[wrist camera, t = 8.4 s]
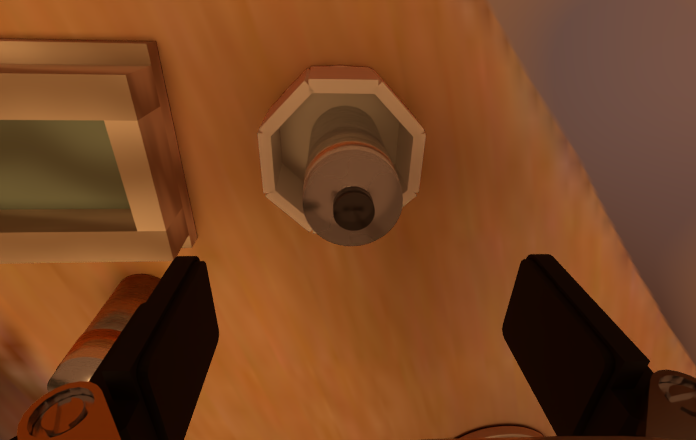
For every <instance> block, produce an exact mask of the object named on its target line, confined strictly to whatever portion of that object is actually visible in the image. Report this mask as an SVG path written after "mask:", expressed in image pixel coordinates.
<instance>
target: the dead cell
mask: <svg viewBox="0 0 696 440" xmlns="http://www.w3.org/2000/svg"><path fill="white" fill-rule="evenodd" d="M302 196H303V211H304V215H305V218H306V220H307V222H308V224H309V225H310V227H311V228H312V229H313V230H314V231H315V232H316V233H317V234H318V235H319V236H320V237H322V238H323V239H325V240H327V241H329V242H332V243H334V244H338V245H343V246H359V245H365V244H368V243H371V242H373V241H376V240H378V239H379V238H381V237H382V236H384V235H385V234H386V233H388V232H389V231H390V230H391V229H392V227H393V226H394V225H395V223H396V222H397V220H398V218H399V216H400V214H401V211H402V206H403V195H402V190H401V186H400V182H399V178H398V176H397V173H396V171H395V168H394V166H393V163H392V161H391V159H390V156H389V154H388V153H387V151H386V149H385V146H384V144H383V141H382V139H381V136H380V134H379V131H378V129H377V127H376V124H375V122H374V121H373V119H372V118H371V117H370V116H369V115H368V114H367V113H366V112H364V111H363V110H361V109H359V108H356V107H353V106H337V107H334V108H331V109H329V110H327V111H325V112H324V113H323V114H322V115H320V116H319V118H318V119H317V120H316V122H315V123H314V125H313V127H312V130H311V135H310V143H309V151H308V160H307V164H306V168H305V175H304V183H303V193H302Z"/></svg>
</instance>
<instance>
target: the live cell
mask: <svg viewBox="0 0 696 440" xmlns="http://www.w3.org/2000/svg"><path fill="white" fill-rule="evenodd" d="M160 280H161V279H159V278H157V277H154V276H151V275H146V274H135V275H131V276H128V277H126V278H125V279H123V280H122V281H121V282H120V284H119V285H118V287H117V288H116V289H115V291H114V292H113V293H112V295H111V296H110V297H109V299H108V300H107V302H106V303H105V304H104V306H103V307H102V308H101V310H100V311H99V313H98V314H97V315H96V317H95V318H94V319H93V321H92V322H91V324H90V325H89V326H88V328H87V329H86V330H85V332H84V333H83V334H82V335H81V336H80V337H79V339H78V340H77V341H76V343H75V344H74V345H73V347H72V348H71V349H70V351H69V352H68V353H67V355H66V356H65V358H64V359H63V360H62V362H61V363H60V364H59V366H58V367H57V369H56V372H55V373H54V374H53V376H52V377H51V378H50V380H49V382H48V385H47V389H48V392H50V391H52V390H54V389H55V388H58V387H60V386H63V385H66V384H68V383H73V382H79V381H84V382H88V381H89V380H90V378H91V377H92V375H93V374H94V372H95V371H96V369H97V368H98V366H99V365H100V363H101V362H102V360H103V359H104V357H105V356H106V354H107V353H108V351H109V350H110V348H111V347H112V345H113V344H114V342H115V341H116V339H117V338H118V336H119V335H120V333H121V332H122V330H123V329H124V327H125V326H126V324H127V323H128V321H129V320H130V318H131V317H132V315H133V314H134V312H135V311H136V309H137V308H138V307H139V306H140V304H142V303H144V302H146V301H147V300H148V298H149V297H150V295H151V294H152V292H153V290H154V289H155V287H156V286H157V284H158V283H159V281H160Z"/></svg>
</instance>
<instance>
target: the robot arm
mask: <svg viewBox="0 0 696 440" xmlns="http://www.w3.org/2000/svg"><path fill="white" fill-rule="evenodd" d="M502 332H503V336H504V339H505V341H506V343H507V344H508V346H509V348H510V350H511V352H512V354H513V355H514V357H515V359H516V361H517V363H518V365H519V367H520V368H521V370H522V372H523V374H524V376H525V378H526V380H527V381H528V383H529V385H530V387H531V389H532V391H533V393H534V394H535V396H536V398H537V400H538V402H539V404H540V405H541V407H542V409H543V411H544V413H545V415H546V417H547V418H548V420H549V422H550V424H551V426H552V428H553V430H554V431H555V433H556V435H557V436H552V437H544V436H543V435H542V434H541V433H539V432H536V431H534V430H532V429H528V428H525V427H518V426H498V427H490V428H486V429H481V430H477V431H475V432H472V433H469V434H466V435H464V436H462V437H460V438H458V439H423V440H696V378H694V377H692V376H690V375H687V374H684V373H681V372H678V371H672V370H659V371H657V372H655V373H653V372H652V371H651V369H650V368H649V367H648V364H649V362H650V361H649V359H648V358H647V357H646V356H645V355H644V354H643V353H642V352H641V351H640V350H639V349H638V348H637V347H636V345H635V344H634V343H633V342H632V341H631V340H630V339H629V338H628V337H627V336H626V335H625V334H624V333H623V331H622V330H621V329H620V328H619V327H618V326H617V325H616V324H615V323H614V322H613V321H612V320H611V319H610V317H609V316H608V315H607V314H606V313H605V312H604V311H603V310H602V309H601V308H600V307H599V306H598V305H597V303H596V302H595V301H594V300H593V299H592V298H591V297H590V296H589V295H588V294H587V293H586V292H585V291H584V289H583V288H582V287H581V286H580V285H579V284H578V283H577V282H576V281H575V280H574V279H573V278H572V277H571V275H570V274H569V273H568V272H567V271H566V270H565V269H564V268H563V267H562V266H561V265H560V264H559V263H558V261H557V260H556V259H555V258H554V257H553V256H551V255H549V254H531V255H528V257H527V258H526V259H524V260H522V261H521V263H520V267H519V270H518V274H517V277H516V281H515V284H514V288H513V291H512V295H511V298H510V302H509V305H508V309H507V312H506V316H505V319H504V323H503V327H502ZM218 338H219V329H218V324H217V318H216V313H215V308H214V303H213V297H212V292H211V287H210V282H209V277H208V271H207V266H206V263H205V262H204V261H200V260H199V258H198V257H197V256H177V257H175V258H174V260H173V261H172V263H171V264H170V266H169V267H168V269H167V271H166V272H165V274H164V275H163V277H162V278H161V280H160V281H159V283H158V284H157V286H156V287H155V289H154V290H153V292H152V294H151V295H150V297H149V298H148V300H147V301H146V302H144V303H142V304H140V306H139V307H138V308H137V309H136V311H135V312H134V314H133V315H132V317H131V318H130V320H129V321H128V323H127V324H126V326H125V327H124V329H123V330H122V332H121V333H120V335H119V336H118V338H117V339H116V341H115V342H114V344H113V345H112V347H111V348H110V350H109V351H108V353H107V354H106V356H105V357H104V359H103V360H102V362H101V363H100V365H99V366H98V368H97V369H96V371H95V372H94V374H93V375H92V377H91V378H90V380H89V381H88V382H84V381H79V382H73V383H68V384H66V385H63V386H60V387H58V388H55V389H54V390H52V391H50V392H48V393H47V394H45V395H43V396H42V397H41V398H39V399H38V400H37V401H36V402H34V403H33V404H32V405H31V406H30V407H29V409H28V410H27V411H26V412H25V413H24V414H23V416H22V418H21V420H20V422H19V424H18V429H17V436H16V437H14V438H12V439H10V440H184V438H185V435H186V432H187V429H188V426H189V423H190V421H191V418H192V415H193V412H194V409H195V406H196V403H197V400H198V398H199V395H200V392H201V389H202V386H203V383H204V380H205V378H206V375H207V372H208V369H209V366H210V363H211V360H212V357H213V355H214V352H215V349H216V346H217V343H218Z"/></svg>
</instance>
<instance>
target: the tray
mask: <svg viewBox="0 0 696 440" xmlns="http://www.w3.org/2000/svg"><path fill="white" fill-rule="evenodd" d="M196 239H197V234H196V229H195V224H194V220H193V215H192V210H191V205H190V201H189V196H188V191H187V186H186V182H185V177H184V172H183V168H182V163H181V158H180V153H179V149H178V144H177V139H176V134H175V130H174V125H173V120H172V116H171V111H170V106H169V101H168V97H167V92H166V87H165V82H164V78H163V73H162V68H161V64H160V59H159V54H158V49H157V45H156V41H107V40H53V39H0V264H1V263H71V262H141V261H173V260H174V258H175V257H176V256H177V255H178V253H179V251H180V249H181V248H192V247H193V245H194V243H195V241H196Z"/></svg>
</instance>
